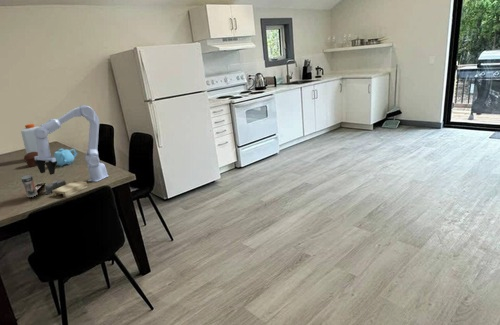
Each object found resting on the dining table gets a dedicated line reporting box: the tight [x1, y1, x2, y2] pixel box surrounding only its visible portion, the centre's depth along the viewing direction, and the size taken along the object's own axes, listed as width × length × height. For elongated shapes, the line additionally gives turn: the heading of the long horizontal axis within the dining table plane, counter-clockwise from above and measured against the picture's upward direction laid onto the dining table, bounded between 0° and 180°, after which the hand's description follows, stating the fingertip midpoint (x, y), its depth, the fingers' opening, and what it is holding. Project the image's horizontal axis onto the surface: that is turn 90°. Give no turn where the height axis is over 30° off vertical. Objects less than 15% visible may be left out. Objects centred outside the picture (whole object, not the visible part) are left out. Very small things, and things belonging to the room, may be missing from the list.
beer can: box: [20, 174, 38, 198], centre depth 173 cm, size 5×5×12 cm
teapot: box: [53, 148, 78, 168], centre depth 231 cm, size 20×17×12 cm
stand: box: [52, 180, 89, 198], centre depth 176 cm, size 14×10×3 cm
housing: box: [44, 179, 67, 195], centre depth 181 cm, size 12×5×5 cm, turn 157°
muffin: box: [23, 152, 38, 168], centre depth 239 cm, size 12×11×10 cm
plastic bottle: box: [20, 123, 52, 155], centre depth 256 cm, size 15×15×28 cm
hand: (47, 173), depth 175 cm, fingers open, 7 cm apart
